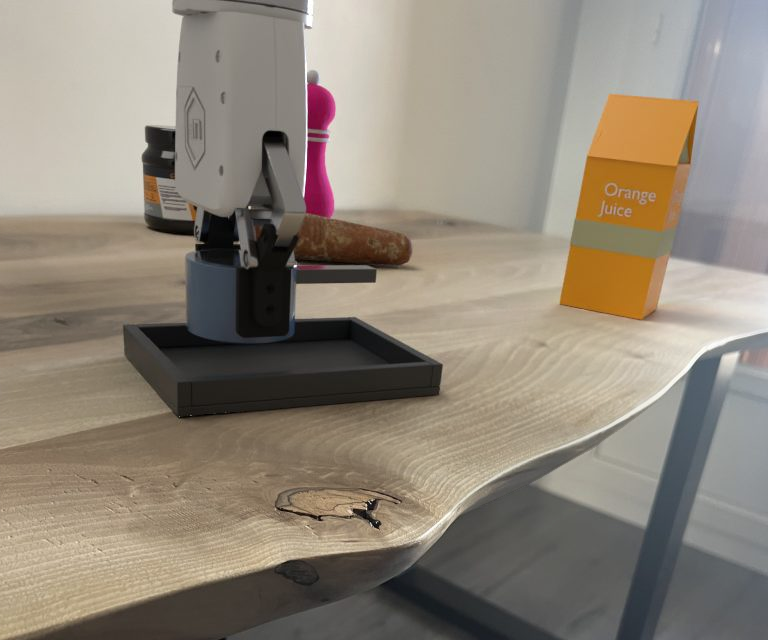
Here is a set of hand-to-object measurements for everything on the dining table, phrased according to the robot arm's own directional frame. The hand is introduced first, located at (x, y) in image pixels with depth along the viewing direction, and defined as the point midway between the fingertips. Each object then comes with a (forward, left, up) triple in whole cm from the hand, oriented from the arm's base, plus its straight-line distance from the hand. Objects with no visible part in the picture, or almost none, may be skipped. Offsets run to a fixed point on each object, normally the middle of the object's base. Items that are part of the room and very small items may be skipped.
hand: (240, 317), depth 52 cm
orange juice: (+47, +15, -4) cm, 49 cm away
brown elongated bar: (+26, +40, -4) cm, 48 cm away
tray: (+3, 0, -4) cm, 5 cm away
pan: (+3, 0, -1) cm, 3 cm away
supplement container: (+15, +61, -4) cm, 63 cm away
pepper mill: (+29, +54, -4) cm, 61 cm away
